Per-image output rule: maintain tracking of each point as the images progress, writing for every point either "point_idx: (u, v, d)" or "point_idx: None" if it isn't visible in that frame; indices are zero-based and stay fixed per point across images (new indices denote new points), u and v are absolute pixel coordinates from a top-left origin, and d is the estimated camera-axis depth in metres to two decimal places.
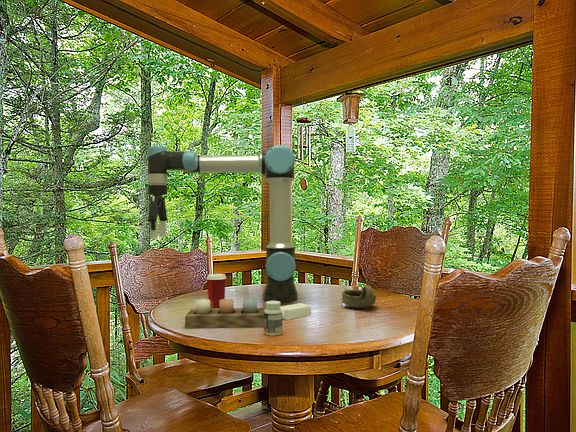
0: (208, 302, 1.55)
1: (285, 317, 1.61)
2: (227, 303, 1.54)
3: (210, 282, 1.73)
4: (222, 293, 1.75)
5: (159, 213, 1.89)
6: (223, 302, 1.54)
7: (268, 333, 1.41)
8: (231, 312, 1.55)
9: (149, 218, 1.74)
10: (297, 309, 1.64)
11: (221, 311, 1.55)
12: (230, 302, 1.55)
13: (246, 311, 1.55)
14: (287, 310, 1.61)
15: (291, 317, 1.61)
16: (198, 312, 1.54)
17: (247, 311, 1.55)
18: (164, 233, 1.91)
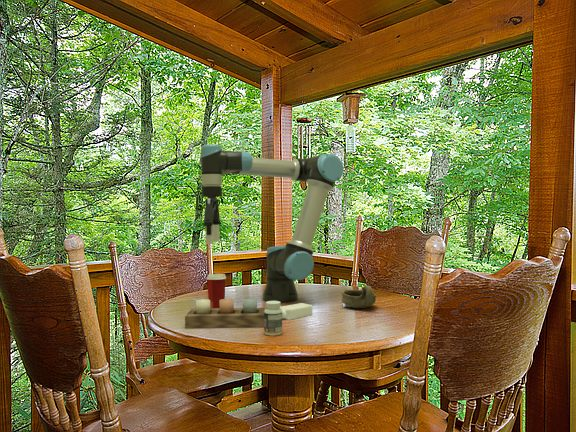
0: (208, 302, 1.55)
1: (287, 317, 1.61)
2: (227, 303, 1.54)
3: (210, 282, 1.73)
4: (222, 293, 1.75)
5: (212, 216, 1.77)
6: (223, 302, 1.54)
7: (268, 333, 1.41)
8: (231, 312, 1.55)
9: (205, 222, 1.62)
10: (299, 309, 1.64)
11: (221, 311, 1.55)
12: (230, 302, 1.55)
13: (246, 311, 1.55)
14: (289, 310, 1.61)
15: (293, 317, 1.62)
16: (198, 312, 1.54)
17: (247, 311, 1.55)
18: (218, 237, 1.78)
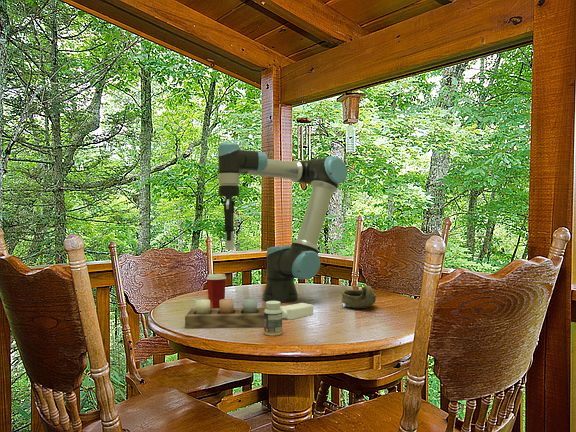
0: (208, 302, 1.55)
1: (288, 317, 1.62)
2: (227, 303, 1.54)
3: (210, 282, 1.73)
4: (222, 293, 1.75)
5: None
6: (223, 302, 1.54)
7: (268, 333, 1.41)
8: (231, 312, 1.55)
9: (226, 229, 1.64)
10: (300, 309, 1.64)
11: (221, 311, 1.55)
12: (230, 302, 1.55)
13: (246, 311, 1.55)
14: (290, 310, 1.61)
15: (294, 317, 1.62)
16: (198, 312, 1.54)
17: (247, 311, 1.55)
18: None
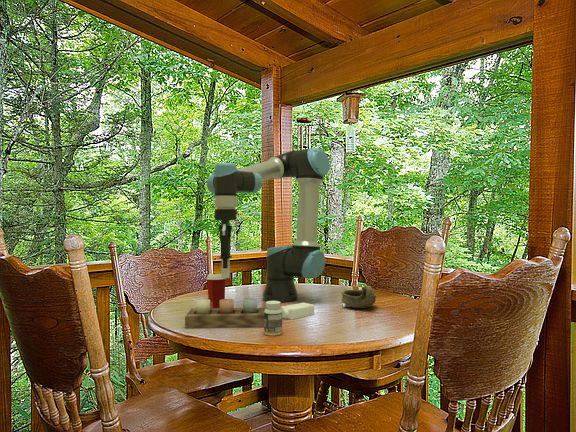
0: (208, 302, 1.55)
1: (289, 317, 1.62)
2: (227, 303, 1.54)
3: (210, 282, 1.73)
4: (222, 293, 1.75)
5: None
6: (223, 302, 1.54)
7: (268, 333, 1.41)
8: (231, 312, 1.55)
9: (222, 256, 1.53)
10: (301, 309, 1.64)
11: (221, 311, 1.55)
12: (230, 302, 1.55)
13: (246, 311, 1.55)
14: (291, 310, 1.61)
15: (295, 317, 1.62)
16: (198, 312, 1.54)
17: (247, 311, 1.55)
18: None
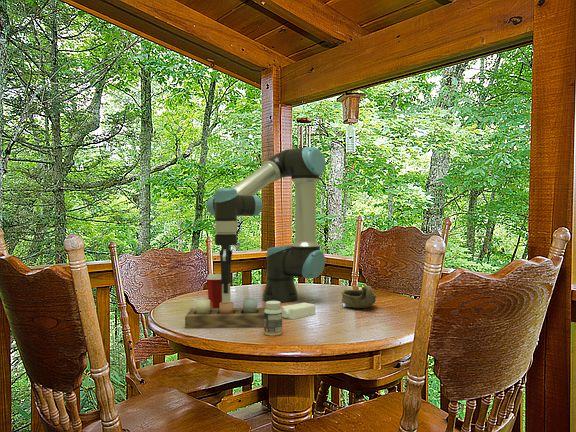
0: (208, 302, 1.55)
1: (290, 316, 1.62)
2: (227, 306, 1.54)
3: (210, 282, 1.73)
4: None
5: None
6: (223, 305, 1.54)
7: (268, 333, 1.41)
8: None
9: (222, 281, 1.53)
10: (302, 308, 1.64)
11: None
12: (230, 305, 1.55)
13: (246, 311, 1.55)
14: (292, 309, 1.62)
15: (296, 316, 1.62)
16: (198, 312, 1.54)
17: (247, 311, 1.55)
18: None
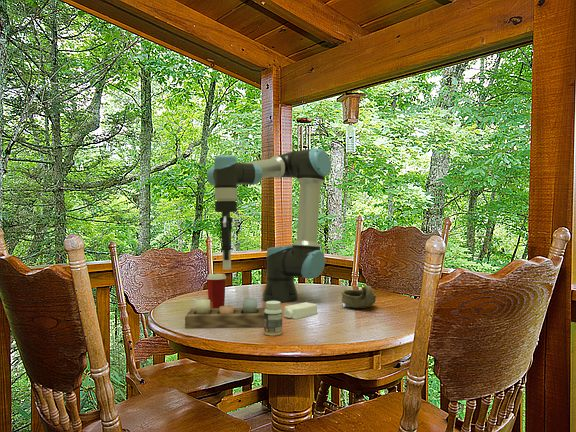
0: (208, 302, 1.55)
1: (293, 316, 1.62)
2: (227, 310, 1.54)
3: (210, 282, 1.73)
4: (222, 293, 1.75)
5: None
6: (223, 309, 1.54)
7: (268, 333, 1.41)
8: None
9: (223, 248, 1.54)
10: (305, 308, 1.65)
11: None
12: (230, 309, 1.55)
13: (246, 311, 1.55)
14: (295, 309, 1.62)
15: (299, 316, 1.63)
16: (198, 312, 1.54)
17: (247, 311, 1.55)
18: None
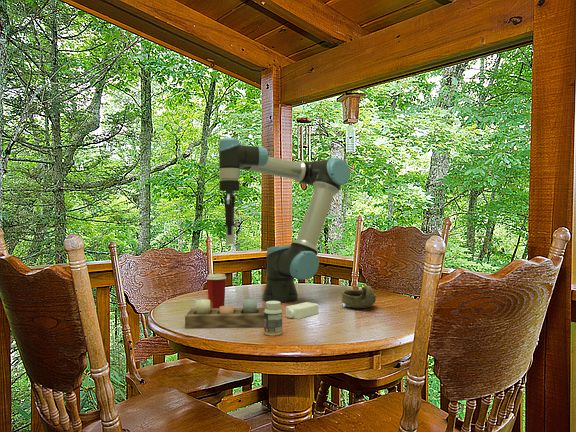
0: (208, 302, 1.55)
1: (295, 316, 1.62)
2: (227, 310, 1.54)
3: (210, 282, 1.73)
4: (222, 293, 1.75)
5: None
6: (223, 309, 1.54)
7: (268, 333, 1.41)
8: None
9: (226, 223, 1.67)
10: (306, 308, 1.65)
11: None
12: (230, 309, 1.55)
13: (246, 311, 1.55)
14: (297, 309, 1.62)
15: (301, 316, 1.63)
16: (198, 312, 1.54)
17: (247, 311, 1.55)
18: None
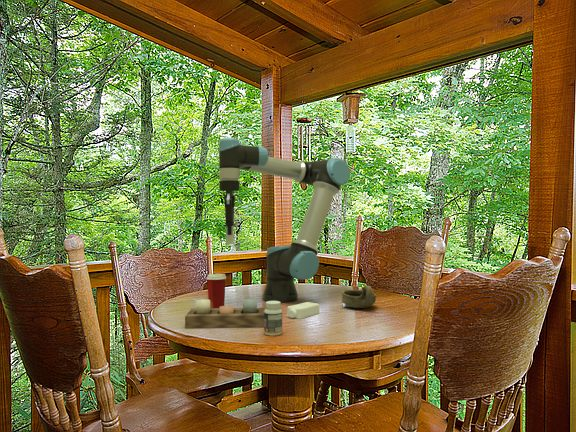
0: (208, 302, 1.55)
1: (297, 316, 1.62)
2: (227, 310, 1.54)
3: (210, 282, 1.73)
4: (222, 293, 1.75)
5: None
6: (223, 309, 1.54)
7: (268, 333, 1.41)
8: None
9: (226, 223, 1.67)
10: (308, 308, 1.65)
11: None
12: (230, 309, 1.55)
13: (246, 311, 1.55)
14: (299, 309, 1.62)
15: (303, 316, 1.63)
16: (198, 312, 1.54)
17: (247, 311, 1.55)
18: None
